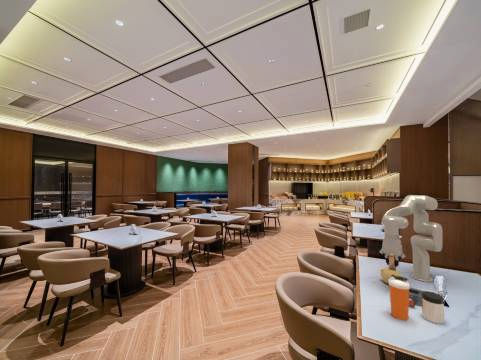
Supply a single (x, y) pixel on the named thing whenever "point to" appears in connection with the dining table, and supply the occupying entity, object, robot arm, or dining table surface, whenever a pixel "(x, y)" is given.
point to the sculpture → (388, 274)
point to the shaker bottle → (399, 296)
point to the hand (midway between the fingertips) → (392, 265)
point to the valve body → (415, 297)
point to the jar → (432, 307)
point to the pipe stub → (391, 262)
